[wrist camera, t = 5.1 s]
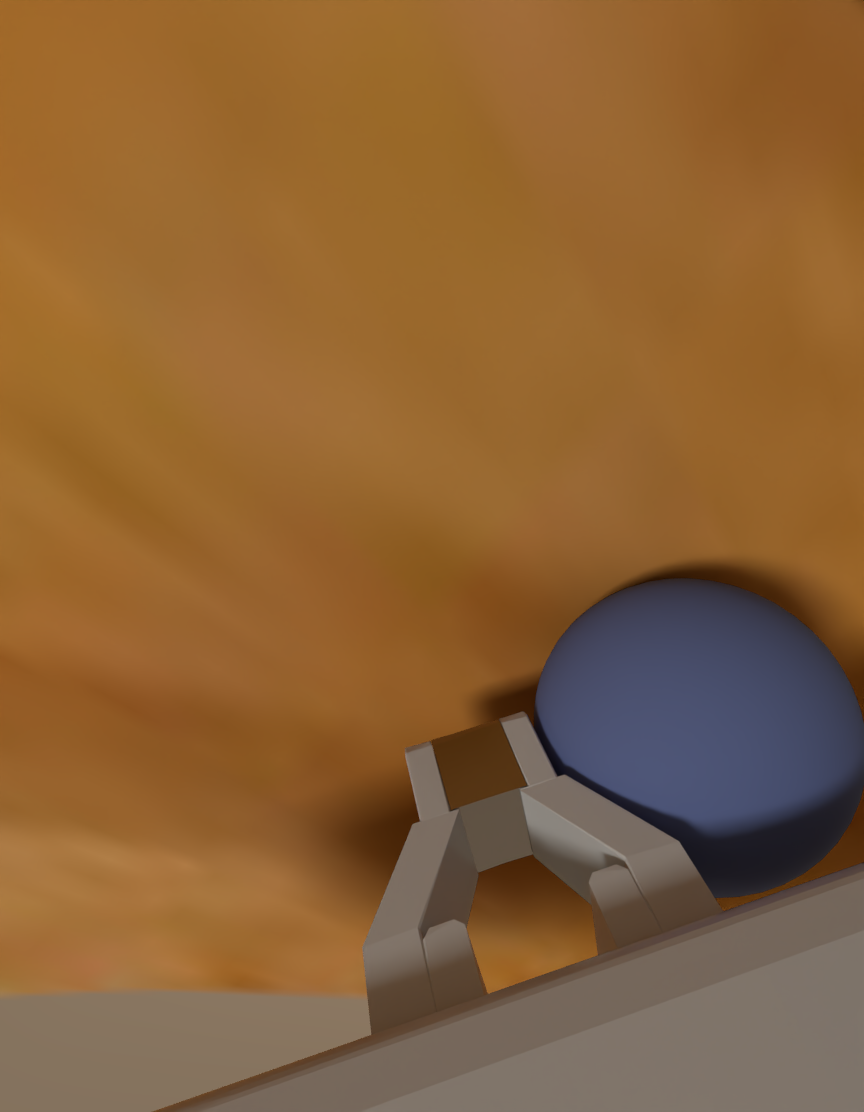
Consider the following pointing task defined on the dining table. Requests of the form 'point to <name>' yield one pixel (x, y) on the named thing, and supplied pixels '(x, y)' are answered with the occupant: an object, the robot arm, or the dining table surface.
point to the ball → (708, 727)
